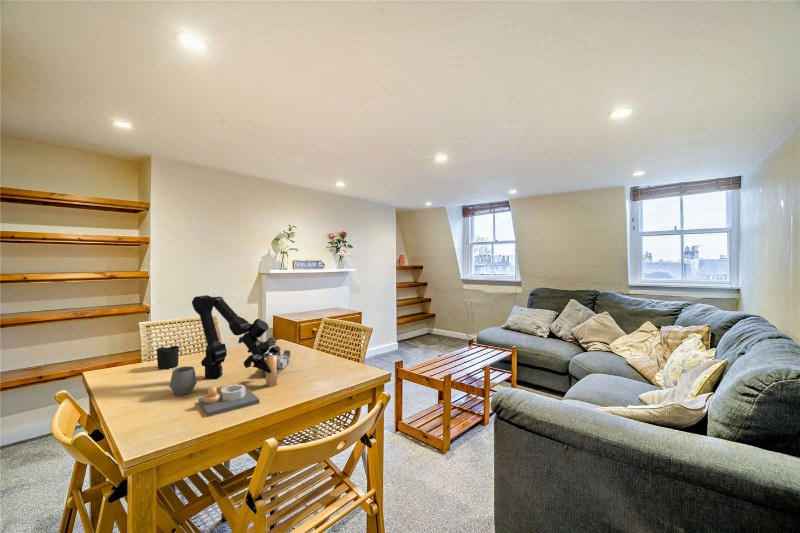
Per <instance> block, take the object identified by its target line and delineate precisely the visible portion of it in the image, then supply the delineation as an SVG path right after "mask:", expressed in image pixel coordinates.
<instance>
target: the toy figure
mask: <svg viewBox="0 0 800 533" xmlns="http://www.w3.org/2000/svg"><path fill="white" fill-rule="evenodd" d="M291 352H292V351H291V350H290V349H289V350H288V349H284V350H283V353H282V354H281V350H280V351H279V352H278V353H277V354H276V356H277V366H278V369H277V376H278V375H279V374H280V373H281V372H280V371H281V370H282V369H284V368H285V367H287V366H288V365H289V364H290V359H291ZM265 362H266V359H265ZM261 373H262V374H261V376H262V378H266V371H263V370H261Z"/></svg>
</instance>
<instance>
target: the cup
mask: <svg viewBox="0 0 800 533" xmlns="http://www.w3.org/2000/svg"><path fill="white" fill-rule="evenodd" d="M196 385H197V375H196V370H195V367H194V366H190V365H189V366H181V367H175V369H174V368H173V370H172V373H171V378H170V382H169V387H170V389H171V390H172V392H173V394H174V395H176V396H185V395H188V394H190V393H193V391H194V389H195V387H196Z"/></svg>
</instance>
